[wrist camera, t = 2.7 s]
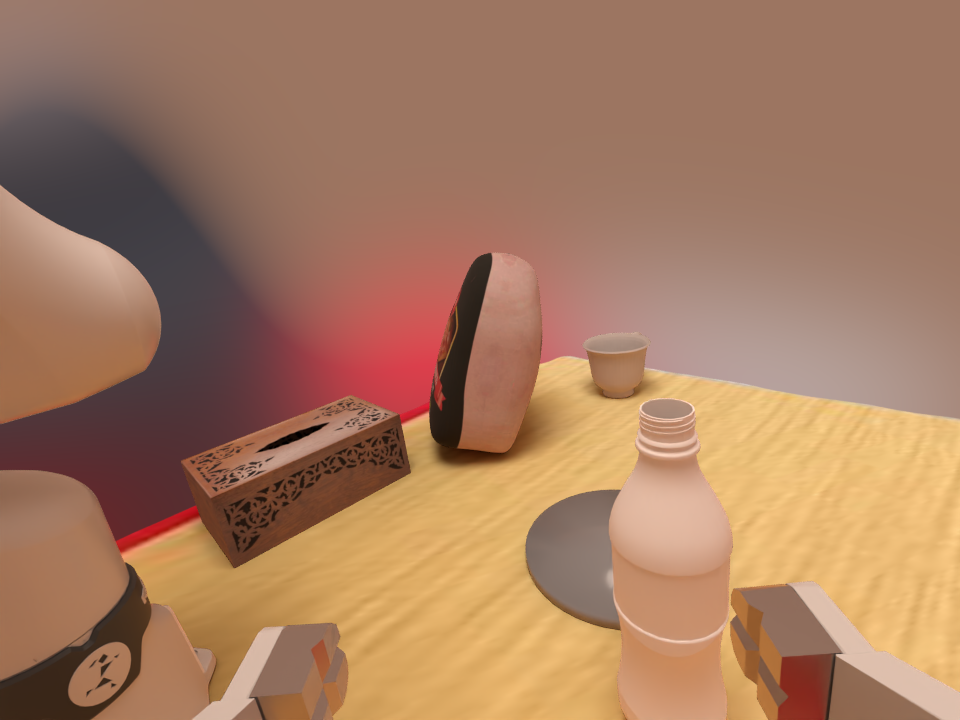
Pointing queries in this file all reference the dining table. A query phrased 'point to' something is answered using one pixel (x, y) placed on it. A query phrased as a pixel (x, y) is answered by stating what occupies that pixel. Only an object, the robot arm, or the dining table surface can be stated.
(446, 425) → the packaged food
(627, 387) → the teacup
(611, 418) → the dining table surface
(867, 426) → the dining table surface
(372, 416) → the tissue box cover
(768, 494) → the dining table surface
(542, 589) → the plate
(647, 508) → the water bottle
